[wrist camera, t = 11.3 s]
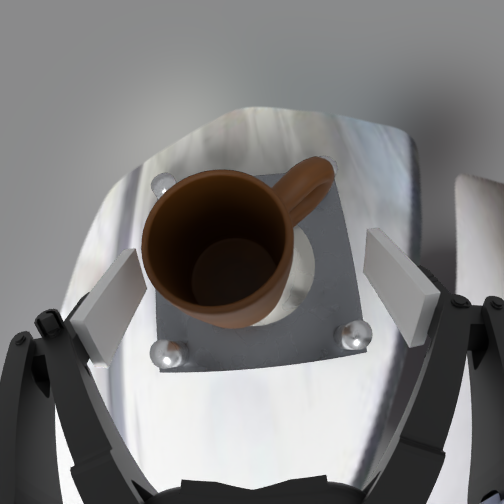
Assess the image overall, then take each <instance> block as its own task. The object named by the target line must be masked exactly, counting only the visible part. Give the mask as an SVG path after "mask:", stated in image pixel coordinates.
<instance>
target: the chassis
mask: <svg viewBox="0 0 504 504" xmlns="http://www.w3.org/2000/svg"><path fill="white" fill-rule="evenodd" d="M320 157H321V158H325V159H326V160H328V161H329V162H330V163H331V164H332V166H333V169H334V173H335V175H336V173H337V170H338V166H337V163H336V162H335V161H334V160H333V159H332V158H330V157H328V156H320ZM285 174H286V173H283V174H271V175H260V176H253V177H255V178H257V179H259V180H261V181H262V182H264V183H265V184H267V185H268V186H269V187H271V188H272V187H273V186H274V185H275V184H276V183H277V182H278V181H279V180H280V179H281V178H282V177H283V176H284V175H285ZM334 178H335V177H334ZM175 184H176V181H175V179H174V177H173V176H172V175H171V174H169V173H161V174H159V175H157V176H156V177H155V178H154V179H153V181H152V183H151V188H152V191H153V192H154V194H155V195H156V196H157V201H158V200H159V198H160V197H161V196H162V195H163V194H164V193H165V192H166V191H167V190H168V189H170V188H171V187H172V186H173V185H175ZM293 230H294V255H293V262H292V267H291V271H290V274H289V277H288V280H287V283H286V286H285V289H284V291H283V294H282V296H281V298H280V300H279V302H278V304H277V305H276V307H275V308H274V309H273V311H272V312H271V313H270V314H269V315H268V316H266V317H265V318H264V319H262V320H261V321H259V322H257V323H256V324H253V325H251V326H248V327H244V328H236V329H230V328H222V327H218V326H215V325H212V324H209V323H206V322H203V321H201V320H198V319H196V318H193V317H191V316H189V315H187V314H185V313H184V312H182V311H180V310H179V309H178V308H176V307H175V306H173V305H172V304H171V303H170V302H169V301H167V300H166V299H165V298H164V297H163V296H162V295H161V294H160V293H159V292H158V291H157V290H156V322H157V341H156V342H155V343H154V344H153V345H152V346H151V349H150V358H151V360H152V362H153V363H154V364H155V365H156V366H157V367H159V368H160V372H211V371H229V370H243V369H255V368H266V367H275V366H284V365H292V364H300V363H307V362H314V361H320V360H327V359H333V358H338V357H344V356H349V355H355V354H360V353H365V352H367V349H366V347H367V346H368V345H369V343H370V342H371V339H372V329H371V327H370V325H369V324H368V323H367V322H365V321H363V317H362V310H361V304H360V297H359V291H358V285H357V279H356V274H355V268H354V263H353V258H352V253H351V248H350V243H349V238H348V233H347V229H346V224H345V220H344V215H343V211H342V207H341V203H340V199H339V195H338V191H337V187H336V183H335V179H334V181H333V184H332V186H331V188H330V190H329V191H328V193H327V194H326V196H325V197H324V198H323V200H322V201H321V202H320V203H319V204H318V206H317V207H316V208H315V209H314V210H313V211H312V212H311V213H310V214H309V215H307V216H306V217H305V218H304V219H303V220H302V221H300V222H299V223H298V224H297V225H296V226H295V227H294V228H293Z"/></svg>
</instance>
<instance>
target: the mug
mask: <svg viewBox="0 0 504 504" xmlns="http://www.w3.org/2000/svg"><path fill="white" fill-rule="evenodd" d="M334 177H335V173H334V169H333V166H332V164H331V163H330V162H329V161H328V160H326V159H325V158H321V157H311V158H308V159H306V160H303V161H302V162H300V163H298V164H296V165H295V166H294V167H292V168H291V169H290V170H289V171H288V172H287V173H286V174H285V175H284V176H283V177H282V178H281V179H280V180H279V181H278V182H277V183H276V184H275V185H274V186H273V187H272V188H271V187H269V186H268V185H267V184H265V183H264V182H262V181H261V180H259V179H257V178H255V177H253V176H251V175H249V174H246V173H243V172H239V171H234V170H210V171H205V172H200V173H197V174H194V175H191V176H189V177H187V178H185V179H183V180H181V181H179V182H178V183H176V184H175V185H173V186H172V187H171V188H170V189H168V190H167V191H166V192H165V193H164V194H163V195H162V196H161V197H160V198H159V200H158V201H157V202H156V203H155V205H154V206H153V208H152V210H151V211H150V213H149V215H148V218H147V220H146V223H145V226H144V229H143V235H142V245H141V251H142V260H143V264H144V268H145V270H146V273H147V276H148V277H149V279H150V281H151V283H152V285H153V286H154V287H155V288H156V290H157V291H158V292H159V293H160V294H161V295H162V296H163V297H164V298H165V299H166V300H167V301H169V302H170V303H171V304H172V305H173V306H175V307H176V308H178V309H179V310H180V311H182V312H184V313H185V314H187V315H189V316H191V317H193V318H196V319H198V320H201V321H203V322H206V323H209V324H212V325H215V326H218V327H222V328H230V329H236V328H244V327H248V326H251V325H253V324H256V323H257V322H259V321H261V320H262V319H264V318H265V317H266V316H268V315H269V314H270V313H271V312H272V311H273V309H274V308H275V307H276V305H277V304H278V302H279V300H280V298H281V296H282V294H283V291H284V289H285V286H286V283H287V280H288V277H289V274H290V271H291V267H292V262H293V255H294V230H293V228H294V227H295V226H296V225H297V224H298V223H299V222H300V221H302V220H303V219H304V218H305V217H306V216H307V215H309V214H310V213H311V212H312V211H313V210H314V209H315V208H316V207H317V206H318V204H319V203H320V202H321V201H322V200H323V198H324V197H325V196H326V194H327V193H328V191H329V190H330V188H331V186H332V184H333V181H334Z"/></svg>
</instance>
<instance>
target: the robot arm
mask: <svg viewBox="0 0 504 504" xmlns="http://www.w3.org/2000/svg"><path fill="white" fill-rule="evenodd" d="M363 272H364V274H365V275H366V277H367V278H368V280H369V282H370V283H371V285H372V286H373V288H374V289H375V291H376V293H377V294H378V296H379V297H380V299H381V301H382V302H383V304H384V305H385V307H386V309H387V310H388V312H389V314H390V315H391V317H392V319H393V320H394V322H395V324H396V325H397V327H398V329H399V330H400V332H401V334H402V336H403V337H404V339H405V341H406V343H407V344H408V346H409V348H410V347H415V346H419V345H423V344H424V342H425V339H426V336H427V334H428V335H429V337H430V338H431V342H430V345H429V347H428V350H427V352H426V355H425V360H424V363H423V366H422V369H421V372H420V375H419V377H418V380H417V382H416V385H415V388H414V390H413V393H412V395H411V398H410V400H409V402H408V405H407V407H406V410H405V412H404V414H403V416H402V418H401V421H400V423H399V425H398V427H397V429H396V431H395V433H394V435H393V437H392V439H391V441H390V443H389V445H388V447H387V449H386V451H385V453H384V454H383V456H382V458H381V460H380V462H379V463H378V465H377V467H376V469H375V470H374V472H373V473H372V475H371V476H370V478H369V479H368V481H367V482H366V484H365V485H364V487H363V488H362V490H359V489H358V488H355V487H353V486H350V485H346V484H343V483H337V482H327V476H326V475H322V476H315V477H308V478H300V479H291V480H287V481H284V482H281V483H278V484H274V485H271V486H267V487H263V488H260V489H255V490H250V489H244V488H240V487H235V486H231V485H226V484H222V483H218V482H208V481H192V480H182V481H181V487H176V488H172V489H168V490H165V491H162V492H160V493H158V492H157V491H156V490H155V489H154V488H153V486H152V485H151V484H150V483H149V482H148V480H147V479H146V477H145V476H144V474H143V473H142V471H141V470H140V468H139V467H138V465H137V463H136V462H135V460H134V458H133V457H132V455H131V453H130V452H129V450H128V448H127V446H126V445H125V443H124V441H123V439H122V437H121V436H120V434H119V432H118V430H117V428H116V426H115V424H114V422H113V420H112V418H111V416H110V414H109V412H108V410H107V408H106V406H105V404H104V401H103V399H102V397H101V395H100V393H99V390H98V388H97V386H96V383H95V381H94V379H93V376H92V374H91V371H90V369H89V367H88V366H87V362H88V360H89V358H90V359H91V361H92V363H93V365H94V366H95V367H99V368H109V366H110V364H111V362H112V359H113V357H114V355H115V353H116V351H117V349H118V346H119V344H120V342H121V340H122V338H123V336H124V334H125V332H126V330H127V328H128V326H129V323H130V321H131V319H132V317H133V315H134V313H135V311H136V309H137V307H138V306H139V304H140V302H141V300H142V298H143V296H144V294H145V292H146V290H147V287H146V284H145V281H144V277H143V274H142V270H141V267H140V263H139V260H138V256H137V252H136V248H134V249H124V250H123V251H122V253H121V254H120V255H119V256H118V257H117V259H116V260H115V261H114V262H113V264H112V265H111V266H110V267H109V269H108V270H107V271H106V272H105V274H104V275H103V276H102V277H101V279H100V280H99V281H98V282H97V284H96V285H95V286H94V288H93V289H92V290H91V292H88V293H87V294H86V295H84V296H83V297H82V298H81V299H80V300H79V302H78V303H77V305H76V306H75V307H74V308H73V310H72V311H71V312H70V314H69V315H68V317H67V318H66V319H65V321H64V322H63V320H62V318H61V316H60V313H59V312H58V310H56V309H49V310H46V311H44V312H42V313H41V314H40V315H38V316H37V318H36V319H35V322H34V323H35V326H36V327H37V329H38V331H39V333H40V334H41V336H42V338H38V339H33V337H32V335H31V334H30V333H29V332H27V331H24V332H21V333H18V334H17V335H15V336H14V338H13V339H12V340H11V342H10V345H9V349H8V352H7V356H6V359H5V363H4V367H3V371H2V376H1V380H0V504H63V501H62V495H61V489H60V482H59V474H58V465H57V453H56V436H55V405H56V409H57V412H58V416H59V419H60V423H61V426H62V429H63V432H64V436H65V439H66V442H67V444H68V447H69V450H70V453H71V456H72V458H73V461H74V464H75V465H74V466H73V467H71V470H70V471H71V475H72V478H73V480H74V483H75V485H76V487H77V490H78V492H79V494H80V496H81V499H82V501H83V503H84V504H426V503H427V500H428V498H429V496H430V494H431V492H432V490H433V487H434V485H435V483H436V480H437V478H438V476H439V473H440V471H441V468H442V465H443V463H444V459H445V452H444V451H443V447H444V444H445V441H446V438H447V435H448V432H449V428H450V425H451V422H452V418H453V415H454V411H455V407H456V404H457V400H458V395H459V391H460V387H461V382H462V377H463V372H464V367H465V361H466V355H467V358H468V366H469V376H470V387H471V404H472V449H471V465H470V476H469V485H468V504H504V300H503V299H501V298H500V297H496V296H488V297H486V299H485V301H484V304H483V306H477V305H471V303H470V301H469V300H468V299H467V298H465V297H463V296H461V295H456V294H452V295H451V294H450V293H449V291H448V290H447V289H446V288H445V287H444V286H443V285H442V284H441V283H440V282H439V281H438V279H437V278H436V277H434V275H433V274H432V273H431V272H430V271H429V270H428V269H426V268H424V267H422V266H421V265H420V266H416V265H415V264H414V263H413V262H412V261H411V260H410V259H409V258H408V257H407V256H406V254H405V253H404V252H403V251H402V250H401V249H400V248H399V247H398V246H397V245H396V244H395V243H394V242H393V241H392V240H391V239H390V238H389V237H388V236H387V235H386V234H385V233H384V232H382V231H381V230H380V229H379V228H375V229H367V237H366V249H365V260H364V269H363Z"/></svg>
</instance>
